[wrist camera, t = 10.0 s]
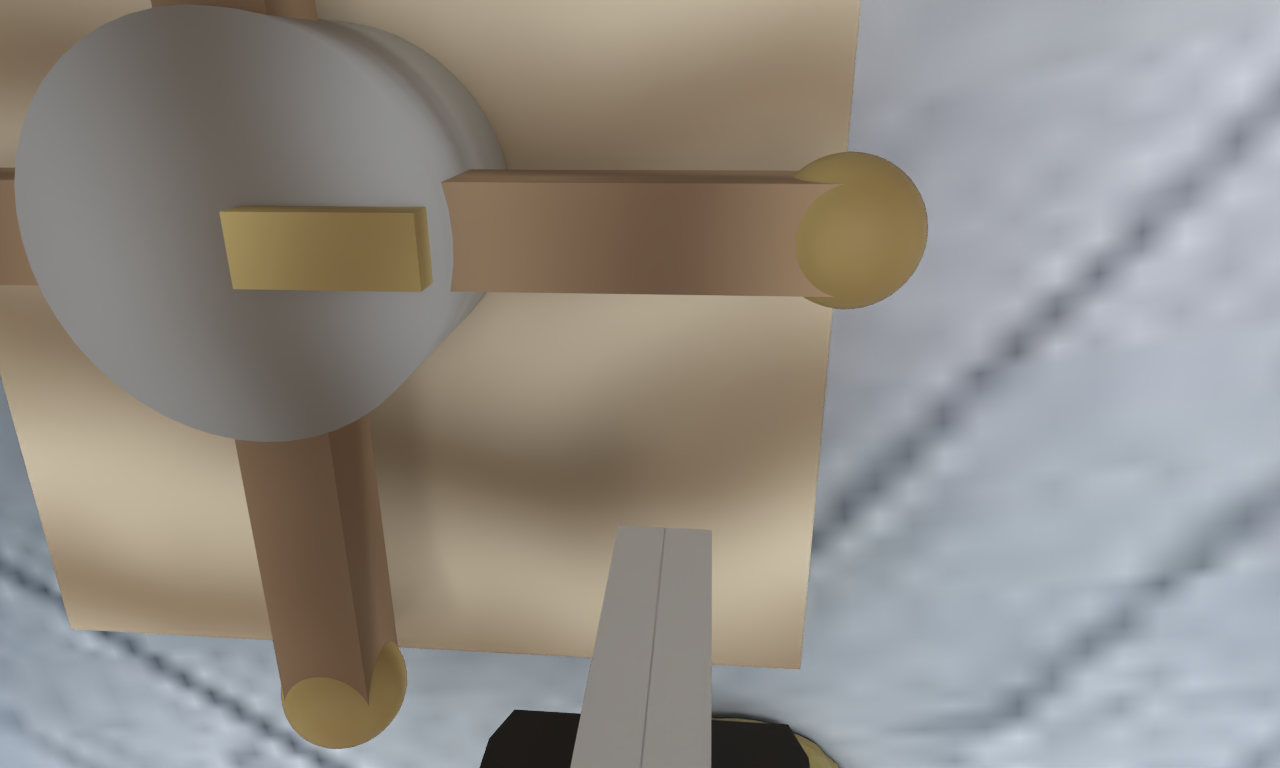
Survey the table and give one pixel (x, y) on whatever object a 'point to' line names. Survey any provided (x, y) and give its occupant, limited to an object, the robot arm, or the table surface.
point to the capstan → (358, 270)
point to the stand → (496, 358)
